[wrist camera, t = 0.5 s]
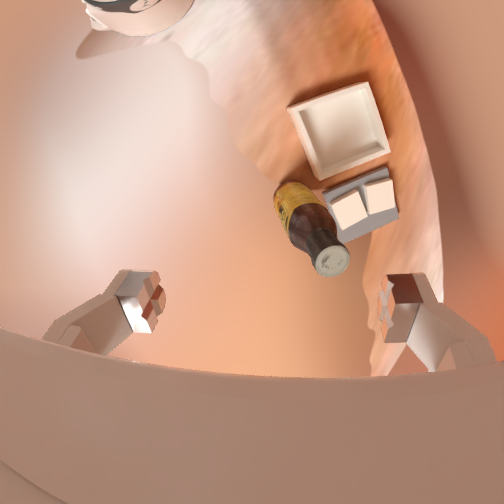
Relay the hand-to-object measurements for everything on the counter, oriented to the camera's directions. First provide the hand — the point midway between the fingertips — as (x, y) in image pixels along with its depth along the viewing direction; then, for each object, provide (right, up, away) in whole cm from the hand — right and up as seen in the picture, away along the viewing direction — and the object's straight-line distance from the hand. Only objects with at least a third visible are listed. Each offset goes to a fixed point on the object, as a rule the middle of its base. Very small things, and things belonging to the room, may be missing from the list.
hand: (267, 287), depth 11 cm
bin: (+13, +20, +33) cm, 41 cm away
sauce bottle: (+6, +10, +38) cm, 40 cm away
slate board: (+18, +9, +40) cm, 45 cm away
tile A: (+15, +8, +39) cm, 42 cm away
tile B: (+21, +11, +38) cm, 44 cm away
